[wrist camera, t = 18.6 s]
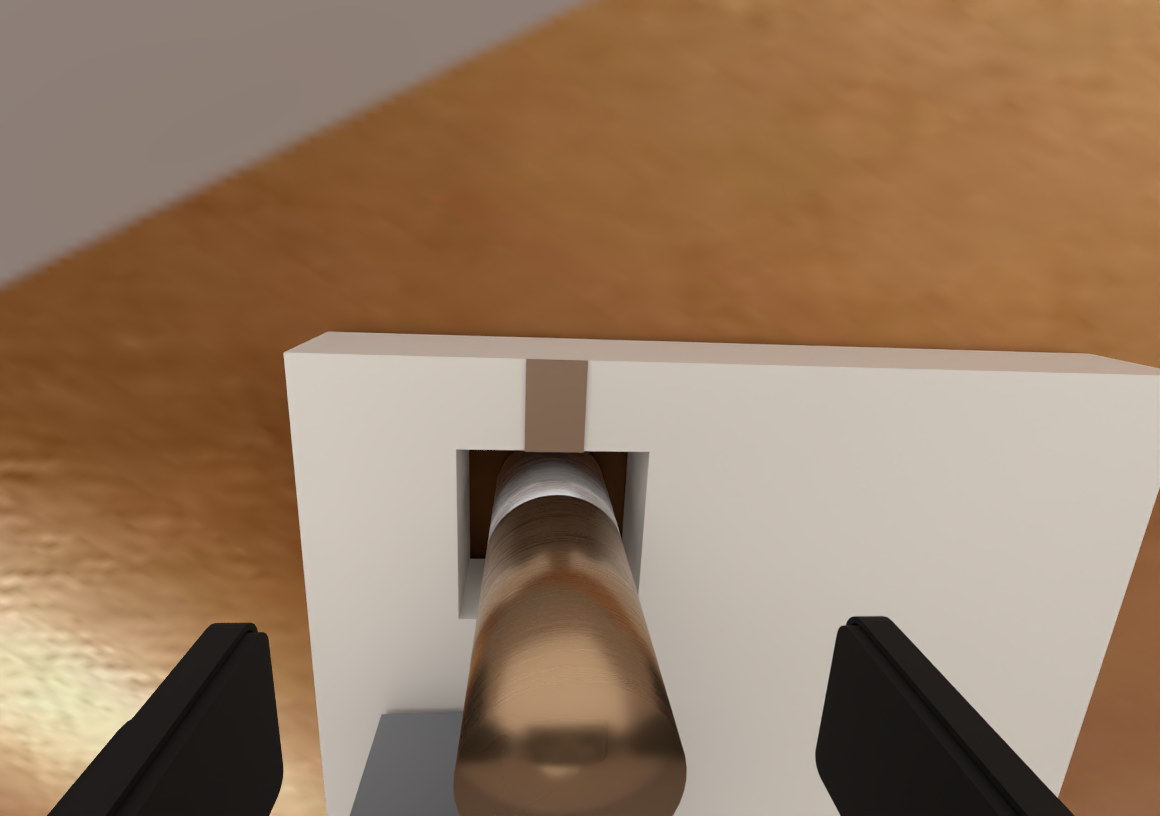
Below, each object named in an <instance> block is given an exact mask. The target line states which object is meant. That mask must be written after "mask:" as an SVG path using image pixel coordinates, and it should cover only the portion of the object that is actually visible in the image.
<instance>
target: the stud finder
mask: <svg viewBox="0 0 1160 816" xmlns="http://www.w3.org/2000/svg"><path fill="white" fill-rule="evenodd" d="M462 717H463V712H456V713H413V714H381V717H380V721H379V724H378V727H377V730H376V733H375V736H374V740H373V743H372V746H371V749H370V752H369V756H368V759H367V762H366V765H365V768H364V771H363V775H362V778H361V781H360V784H359V787H358V791H357V794H356V797H355V800H354V803H353V806H352V810H351V813H350V816H460V815H459V812H458V810H457V806H456V803H455V798H454V789H453V785H454V772H455V765H456V758H457V752H458V745H459V738H460V731H461V724H462Z"/></svg>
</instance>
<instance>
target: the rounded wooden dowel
mask: <svg viewBox="0 0 1160 816" xmlns="http://www.w3.org/2000/svg"><path fill="white" fill-rule="evenodd" d="M686 775H687V766H686V758H685V753H684V750H683V746H682V743H681V740H680V736H679V733H678V729H677V726H676V723H675V719H674V716H673V712H672V709H671V706H670V702H669V699H668V695H667V692H666V689H665V685H664V682H663V678H662V675H661V672H660V668H659V665H658V661H657V658H656V655H655V651H654V648H653V644H652V641H651V638H650V634H649V631H648V627H647V624H646V621H645V617H644V614H643V610H642V607H641V604H640V600H639V597H638V593H637V590H636V587H635V583H634V580H633V576H632V573H631V570H630V566H629V563H628V559H627V556H626V552H625V549H624V546H623V542H622V539H621V535H620V532H619V529H618V525H617V522H616V518H615V515H614V512H613V508H612V505H611V501H610V498H609V495H608V491H607V488H606V484H605V481H604V478H603V474H602V471H601V469H600V466H599V464H598V463H597V461H596V460H595V458H594V457H593V456H592V455H591V454H590V453H589V452H588V451H584V453H579V452H525V450H515V451H514V452H513V453H512V454H511V455H510V456H509V457H508V458H507V459H506V461H505V462H504V463H503V465H502V467H501V469H500V472H499V474H498V478H497V483H496V490H495V497H494V503H493V510H492V517H491V524H490V531H489V538H488V545H487V552H486V559H485V565H484V572H483V579H482V586H481V593H480V600H479V607H478V614H477V621H476V627H475V634H474V641H473V648H472V655H471V662H470V669H469V676H468V683H467V690H466V696H465V703H464V710H463V717H462V724H461V731H460V738H459V745H458V752H457V758H456V765H455V772H454V785H453V789H454V798H455V803H456V806H457V810H458V812H459V815H460V816H673V815H674V813H675V811H676V809H677V807H678V806H679V804H680V801H681V798H682V796H683V793H684V789H685V784H686Z"/></svg>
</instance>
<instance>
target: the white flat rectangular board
mask: <svg viewBox="0 0 1160 816" xmlns="http://www.w3.org/2000/svg"><path fill="white" fill-rule="evenodd" d="M284 363H285V374H286V384H287V395H288V406H289V416H290V427H291V438H292V449H293V459H294V470H295V481H296V491H297V502H298V513H299V523H300V534H301V545H302V555H303V566H304V577H305V587H306V598H307V609H308V619H309V630H310V641H311V651H312V662H313V673H314V683H315V694H316V705H317V715H318V726H319V737H320V747H321V758H322V769H323V779H324V790H325V801H326V811H327V816H350V813H351V810H352V806H353V803H354V800H355V797H356V794H357V791H358V787H359V784H360V781H361V778H362V775H363V771H364V768H365V765H366V762H367V759H368V756H369V752H370V749H371V746H372V743H373V740H374V736H375V733H376V730H377V727H378V724H379V721H380V717H381V714H413V713H456V712H463V710H464V703H465V696H466V690H467V683H468V676H469V669H470V662H471V655H472V648H473V641H474V634H475V627H476V621H477V614H478V607H479V600H480V593H481V586H482V579H483V572H484V565H485V559H470V481H469V450H525V452H579V453H584V451H613V452H628V456H627V471H626V486H625V500H624V515H623V530H622V542H623V546H624V549H625V552H626V556H627V559H628V563H629V566H630V570H631V573H632V576H633V580H634V583H635V587H636V590H637V593H638V597H639V600H640V604H641V607H642V610H643V614H644V617H645V621H646V624H647V627H648V631H649V634H650V638H651V641H652V644H653V648H654V651H655V655H656V658H657V661H658V665H659V668H660V672H661V675H662V678H663V682H664V685H665V689H666V692H667V695H668V699H669V702H670V706H671V709H672V712H673V716H674V719H675V723H676V726H677V729H678V733H679V736H680V740H681V743H682V746H683V750H684V753H685V758H686V766H687V775H686V784H685V789H684V793H683V796H682V798H681V801H680V804H679V806H678V807H677V809H676V811H675V813H674V815H673V816H840V814H839V812H838V810H837V808H836V806H835V804H834V803H833V801H832V799H831V797H830V795H829V793H828V791H827V789H826V787H825V786H824V784H823V782H822V780H821V778H820V776H819V773H818V770H817V766H816V761H815V750H816V745H817V739H818V734H819V728H820V723H821V717H822V712H823V707H824V701H825V696H826V690H827V685H828V679H829V674H830V668H831V663H832V658H833V652H834V647H835V641H836V636H837V632H838V629H839V628H840V626H843V625H846V623H847V621H848V619H849V618H851V617H853V616H885V617H888V618H889V619H891V620H892V621H893V622H894V623H895V624H896V625H897V626H898V628H899V629H900V630H901V631H902V632H903V633H904V634H905V635H906V636H907V637H908V638H909V639H910V640H911V641H912V642H913V644H914V645H915V646H916V647H917V648H918V649H919V650H920V651H921V652H922V653H923V654H924V655H925V656H926V657H927V659H928V660H929V661H930V662H931V663H932V664H933V665H934V666H935V667H936V668H937V669H938V670H939V671H940V672H941V674H942V675H943V676H944V677H945V678H946V679H947V680H948V681H949V682H950V683H951V684H952V685H953V686H954V687H955V689H956V690H957V691H958V692H959V693H960V694H961V695H962V696H963V697H964V698H965V699H966V700H967V701H968V702H969V704H970V705H971V706H972V707H973V708H974V709H975V710H976V711H977V712H978V713H979V714H980V715H981V716H982V717H983V718H984V720H985V721H986V722H987V723H988V724H989V725H990V726H991V727H992V728H993V729H994V730H995V731H996V732H997V733H998V735H999V736H1000V737H1001V738H1002V739H1003V740H1004V741H1005V742H1006V743H1007V744H1008V745H1009V746H1010V747H1011V748H1012V750H1013V751H1014V752H1015V753H1016V754H1017V755H1018V756H1019V757H1020V758H1021V759H1022V760H1023V761H1024V762H1025V763H1026V765H1027V766H1028V767H1029V768H1030V769H1031V770H1032V771H1033V772H1034V773H1035V774H1036V775H1037V776H1038V777H1039V778H1040V780H1041V781H1042V782H1043V783H1044V784H1045V785H1046V786H1047V787H1048V788H1049V789H1050V790H1051V791H1052V792H1053V793H1054V794H1055V796H1056V797H1057V798H1058V796H1059V793H1060V790H1061V787H1062V784H1063V781H1064V777H1065V774H1066V771H1067V768H1068V765H1069V762H1070V759H1071V756H1072V753H1073V750H1074V747H1075V744H1076V741H1077V738H1078V735H1079V732H1080V729H1081V726H1082V723H1083V720H1084V717H1085V714H1086V710H1087V707H1088V704H1089V701H1090V698H1091V695H1092V692H1093V689H1094V686H1095V683H1096V680H1097V677H1098V674H1099V671H1100V668H1101V665H1102V662H1103V659H1104V656H1105V653H1106V650H1107V646H1108V643H1109V640H1110V637H1111V634H1112V631H1113V628H1114V625H1115V622H1116V619H1117V616H1118V613H1119V610H1120V607H1121V604H1122V601H1123V598H1124V595H1125V592H1126V589H1127V586H1128V582H1129V579H1130V576H1131V573H1132V570H1133V567H1134V564H1135V561H1136V558H1137V555H1138V552H1139V549H1140V546H1141V543H1142V540H1143V537H1144V534H1145V531H1146V528H1147V525H1148V522H1149V518H1150V515H1151V512H1152V509H1153V506H1154V503H1155V500H1156V497H1157V494H1158V491H1159V488H1160V369H1159V368H1155V367H1150V366H1145V365H1141V364H1136V363H1131V362H1127V361H1122V360H1117V359H1112V358H1108V357H1103V356H1098V355H1094V354H1083V353H1048V352H1014V351H979V350H945V349H910V348H876V347H841V346H807V345H772V344H738V343H703V342H669V341H634V340H600V339H565V338H531V337H496V336H462V335H427V334H393V333H358V332H326V333H324V334H322V335H320V336H318V337H316V338H313V339H311V340H309V341H307V342H305V343H303V344H301V345H299V346H296V347H294V348H292V349H290V350H288V351H286V352H284Z"/></svg>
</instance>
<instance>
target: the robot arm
mask: <svg viewBox="0 0 1160 816" xmlns="http://www.w3.org/2000/svg"><path fill="white" fill-rule="evenodd" d="M815 761H816V766H817V770H818V773H819V776H820V778H821V780H822V782H823V784H824V786H825V787H826V789H827V791H828V793H829V795H830V797H831V799H832V801H833V803H834V804H835V806H836V808H837V810H838V812H839V814H840V816H1074V815H1073V814H1072V813H1071V812H1070V811H1069V809H1068V808H1067V807H1066V806H1065V805H1064V804H1063V803H1062V802H1061V801H1060V800H1059V799H1058V798H1057V797H1056V796H1055V794H1054V793H1053V792H1052V791H1051V790H1050V789H1049V788H1048V787H1047V786H1046V785H1045V784H1044V783H1043V782H1042V781H1041V780H1040V778H1039V777H1038V776H1037V775H1036V774H1035V773H1034V772H1033V771H1032V770H1031V769H1030V768H1029V767H1028V766H1027V765H1026V763H1025V762H1024V761H1023V760H1022V759H1021V758H1020V757H1019V756H1018V755H1017V754H1016V753H1015V752H1014V751H1013V750H1012V748H1011V747H1010V746H1009V745H1008V744H1007V743H1006V742H1005V741H1004V740H1003V739H1002V738H1001V737H1000V736H999V735H998V733H997V732H996V731H995V730H994V729H993V728H992V727H991V726H990V725H989V724H988V723H987V722H986V721H985V720H984V718H983V717H982V716H981V715H980V714H979V713H978V712H977V711H976V710H975V709H974V708H973V707H972V706H971V705H970V704H969V702H968V701H967V700H966V699H965V698H964V697H963V696H962V695H961V694H960V693H959V692H958V691H957V690H956V689H955V687H954V686H953V685H952V684H951V683H950V682H949V681H948V680H947V679H946V678H945V677H944V676H943V675H942V674H941V672H940V671H939V670H938V669H937V668H936V667H935V666H934V665H933V664H932V663H931V662H930V661H929V660H928V659H927V657H926V656H925V655H924V654H923V653H922V652H921V651H920V650H919V649H918V648H917V647H916V646H915V645H914V644H913V642H912V641H911V640H910V639H909V638H908V637H907V636H906V635H905V634H904V633H903V632H902V631H901V630H900V629H899V628H898V626H897V625H896V624H895V623H894V622H893V621H892V620H891V619H889V618H888V617H885V616H853V617H851V618H849V619H848V621H847V623H846V625H843V626H840V628H839V629H838V632H837V636H836V641H835V647H834V652H833V658H832V663H831V668H830V674H829V679H828V685H827V690H826V696H825V701H824V707H823V712H822V717H821V723H820V728H819V734H818V739H817V745H816V750H815ZM282 779H283V761H282V752H281V743H280V735H279V726H278V717H277V709H276V700H275V691H274V683H273V674H272V666H271V657H270V648H269V640H268V636H267V634H266V633H264V632H258V631H257V628H256V626H255V624H253V623H214V624H211V625H210V626H209V627H208V628H207V629H206V630H205V631H204V633H203V634H202V635H201V636H200V637H199V639H198V640H197V641H196V642H195V643H194V645H193V646H192V647H191V648H190V649H189V651H188V652H187V653H186V654H185V656H184V657H183V658H182V659H181V660H180V662H179V663H178V664H177V665H176V666H175V668H174V669H173V670H172V671H171V672H170V674H169V675H168V676H167V677H166V679H165V680H164V681H163V682H162V683H161V685H160V686H159V687H158V688H157V689H156V691H155V692H154V693H153V694H152V695H151V697H150V698H149V699H148V700H147V701H146V703H145V704H144V705H143V706H142V708H141V709H140V710H139V711H138V712H137V714H136V715H135V716H134V717H133V718H132V720H130V721H128V722H127V723H126V724H125V725H123V726H122V727H121V728H120V729H119V730H118V731H117V733H116V734H115V735H114V736H113V737H112V739H111V740H110V741H109V742H108V743H107V745H106V746H105V747H104V748H103V749H102V751H101V752H100V753H99V754H98V755H97V756H96V758H95V759H94V760H93V761H92V762H91V764H90V765H89V766H88V767H87V768H86V770H85V771H84V772H83V773H82V774H81V776H80V777H79V778H78V779H77V780H76V782H75V783H74V784H73V785H72V786H71V788H70V789H69V790H68V791H67V792H66V794H65V795H64V796H63V797H62V798H61V800H60V801H59V802H58V803H57V804H56V806H55V807H54V808H53V809H52V810H51V812H50V813H49V814H48V815H47V816H269V815H270V813H271V810H272V808H273V806H274V804H275V801H276V799H277V797H278V794H279V792H280V788H281V785H282Z"/></svg>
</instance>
